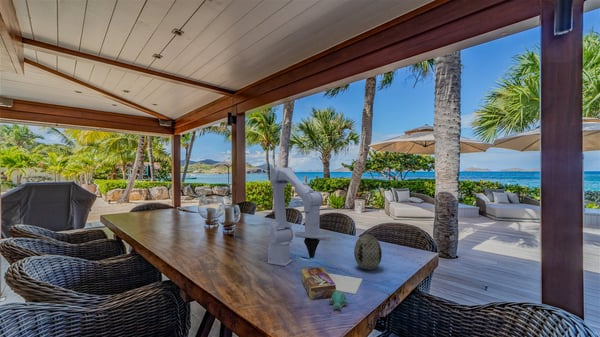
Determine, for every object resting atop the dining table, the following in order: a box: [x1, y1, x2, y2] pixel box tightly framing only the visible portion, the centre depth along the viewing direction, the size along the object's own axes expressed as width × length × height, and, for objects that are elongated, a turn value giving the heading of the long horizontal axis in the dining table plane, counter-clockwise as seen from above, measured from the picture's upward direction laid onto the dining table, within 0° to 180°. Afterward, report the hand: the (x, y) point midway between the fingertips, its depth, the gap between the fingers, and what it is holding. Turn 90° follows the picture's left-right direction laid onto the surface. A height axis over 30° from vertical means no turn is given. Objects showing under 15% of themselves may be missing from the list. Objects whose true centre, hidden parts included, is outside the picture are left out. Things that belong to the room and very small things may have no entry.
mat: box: [327, 272, 363, 295], centre depth 101 cm, size 16×14×1 cm
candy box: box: [300, 267, 337, 300], centre depth 96 cm, size 9×4×15 cm
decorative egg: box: [353, 233, 383, 271], centre depth 117 cm, size 12×12×15 cm
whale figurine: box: [328, 291, 348, 310], centre depth 84 cm, size 6×7×4 cm
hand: (311, 257), depth 106 cm, fingers closed
